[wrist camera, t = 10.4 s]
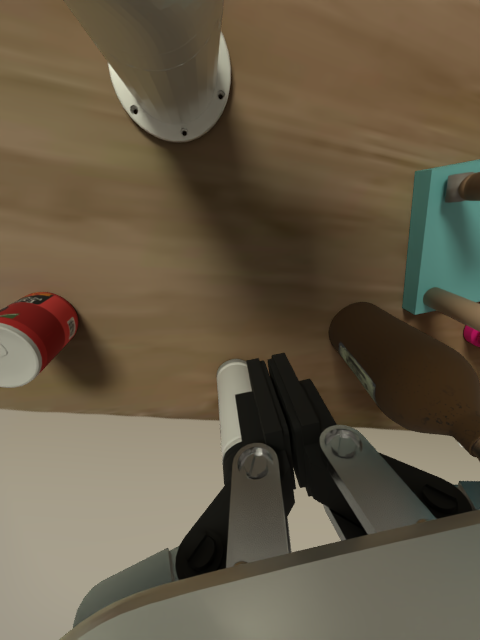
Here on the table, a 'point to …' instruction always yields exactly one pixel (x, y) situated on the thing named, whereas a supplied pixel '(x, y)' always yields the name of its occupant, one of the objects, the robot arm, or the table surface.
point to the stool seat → (443, 249)
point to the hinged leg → (463, 187)
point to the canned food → (33, 335)
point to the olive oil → (410, 374)
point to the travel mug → (230, 409)
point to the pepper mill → (472, 335)
